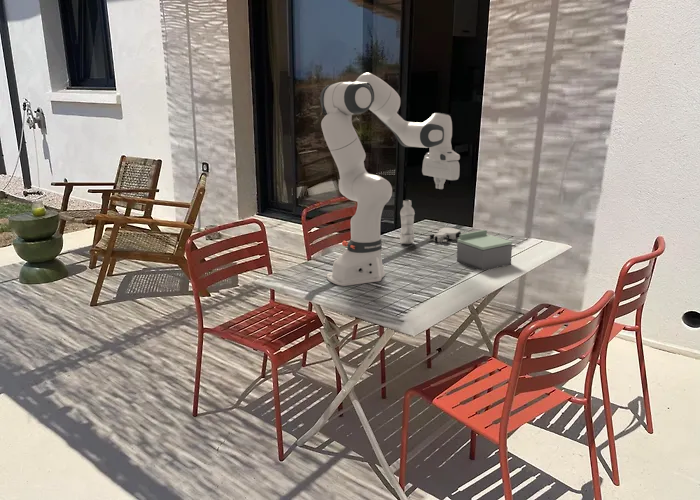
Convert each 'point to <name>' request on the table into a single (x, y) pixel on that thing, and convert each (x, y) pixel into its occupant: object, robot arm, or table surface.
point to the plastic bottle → (407, 223)
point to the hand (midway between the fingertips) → (439, 188)
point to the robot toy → (445, 235)
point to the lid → (482, 240)
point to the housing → (484, 256)
